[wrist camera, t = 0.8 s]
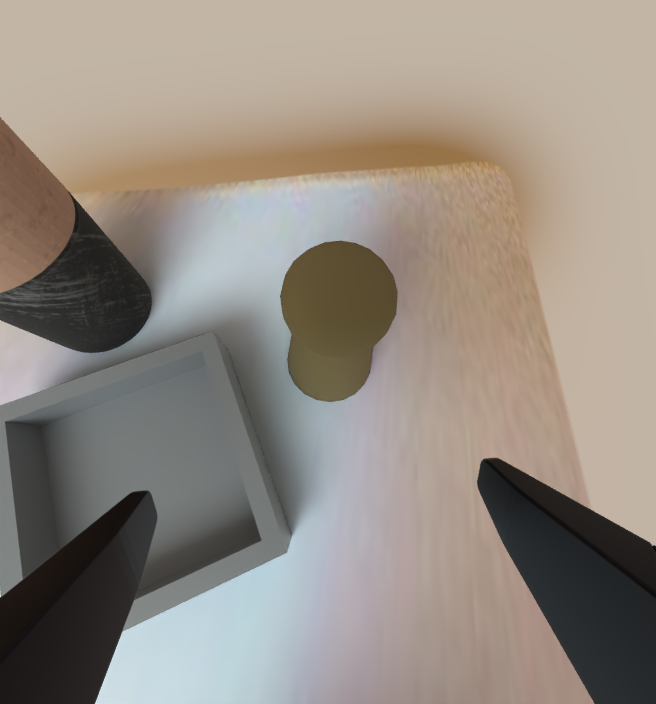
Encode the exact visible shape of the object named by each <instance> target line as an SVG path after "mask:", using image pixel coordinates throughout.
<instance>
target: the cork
mask: <svg viewBox="0 0 656 704" xmlns="http://www.w3.org/2000/svg"><path fill="white" fill-rule="evenodd" d="M280 298H281V305H282V313H283V317H284V320H285V322H286V324H287V325H288V327H289V329H290V331H291V333H292V337H291V343H290V348H289V354H288V368H289V373H290V375H291V377H292V379H293V381H294V383H295V385H296V386H297V387H298V388H299V389H300V390H301V391H302V392H303V393H304V394H306V395H308V396H310V397H312V398H314V399H316V400H321V401H327V402H332V401H339V400H344V399H346V398H348V397H350V396H352V395H354V394H355V393H356V392H357V391H358V390H359V389H360V388H361V387H362V386H363V385H364V384H365V382H366V380H367V377H368V375H369V373H370V367H371V359H372V352H373V346H374V345H375V344H376V343H377V342H378V341H379V340H380V339H381V338H382V337H383V336H384V335H385V334H386V333H387V331H388V330H389V328H390V326H391V323H392V321H393V319H394V317H395V315H396V308H397V288H396V284H395V280H394V277H393V275H392V273H391V272H390V270H389V269H388V267H387V266H386V264H385V263H384V261H383V260H382V259H381V258H380V257H378V256H377V255H376V254H375V253H374V252H372V251H371V250H370V249H368V248H365V247H363V246H361V245H359V244H356V243H351V242H345V241H334V242H325V243H322V244H320V245H317V246H315V247H312V248H310V249H309V250H307V251H306V252H304V253H303V254H302V255H301V256H300V257H298V258H297V259H296V260H295V261H294V262H293V264H292V265H291V267H290V268H289V270H288V271H287V273H286V275H285V278H284V282H283V286H282V291H281V295H280Z"/></svg>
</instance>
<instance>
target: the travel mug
mask: <svg viewBox="0 0 656 704" xmlns="http://www.w3.org/2000/svg"><path fill="white" fill-rule="evenodd" d="M150 309H151V294H150V291H149V288H148V286H147V284H146V282H145V281H144V280H143V278H142V277H141V276H140V274H139V273H138V272H137V271H136V270H135V268H134V267H133V266H132V265H131V264H130V262H129V261H128V260H127V259H126V258H125V257H124V255H123V254H122V253H121V252H120V251H119V250H118V248H117V247H116V246H115V245H114V244H113V243H112V241H111V240H110V239H109V238H108V237H107V236H106V234H105V233H104V232H103V231H102V230H101V229H100V227H99V226H98V225H97V224H96V223H95V222H94V220H93V219H92V218H91V217H90V216H89V215H88V213H87V212H86V211H85V210H84V209H83V208H82V206H81V205H80V204H79V203H78V202H77V201H76V199H75V198H74V197H73V196H72V195H71V194H70V192H69V191H68V190H66V188H65V187H64V186H63V185H62V183H61V182H60V181H59V180H58V179H57V178H56V177H55V176H54V175H53V174H52V173H51V172H50V171H49V169H48V168H47V167H46V166H45V165H44V164H43V163H42V162H41V161H40V160H39V159H38V158H37V157H36V155H34V153H33V152H32V151H31V150H30V149H29V148H28V147H27V146H26V145H25V144H24V143H23V141H22V140H21V139H20V138H19V137H18V136H17V135H16V134H15V133H14V132H13V131H12V130H11V128H9V126H8V125H7V124H6V123H5V122H4V121H3V120H2V119H1V118H0V320H1V321H3V322H6V323H8V324H11V325H13V326H16V327H18V328H20V329H23V330H25V331H28V332H30V333H33V334H35V335H38V336H40V337H42V338H45V339H47V340H50V341H52V342H55V343H57V344H60V345H62V346H65V347H68V348H70V349H73V350H76V351H80V352H89V353H96V352H104V351H108V350H111V349H114V348H116V347H119V346H121V345H123V344H124V343H126V342H127V341H129V340H130V339H131V338H133V337H134V336H135V335H136V334H137V333H138V332H139V331H140V330H141V328H142V327H143V326H144V324H145V322H146V321H147V318H148V316H149V313H150Z"/></svg>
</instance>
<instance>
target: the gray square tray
mask: <svg viewBox="0 0 656 704" xmlns="http://www.w3.org/2000/svg"><path fill="white" fill-rule="evenodd" d="M143 490H148V491H150V492H151V494H152V498H153V501H154V504H155V507H156V511H157V524H156V528H155V531H154V535H153V539H152V542H151V546H150V550H149V553H148V557H147V561H146V564H145V568H144V572H143V575H142V579H141V582H140V585H139V588H138V591H137V594H136V597H135V599H134V602H133V605H132V607H131V610H130V613H129V615H128V618H127V620H126V623H125V626H124V628H123V631H125V630H127V629H129V628H131V627H133V626H135V625H137V624H139V623H141V622H143V621H145V620H147V619H150V618H152V617H154V616H156V615H158V614H160V613H162V612H164V611H166V610H168V609H170V608H172V607H174V606H177V605H179V604H181V603H183V602H185V601H187V600H189V599H191V598H193V597H195V596H197V595H199V594H202V593H204V592H206V591H208V590H210V589H212V588H214V587H216V586H218V585H220V584H222V583H224V582H227V581H229V580H231V579H233V578H235V577H237V576H239V575H241V574H243V573H245V572H247V571H249V570H252V569H254V568H256V567H258V566H260V565H262V564H264V563H266V562H268V561H270V560H272V559H274V558H276V557H279V556H281V555H283V554H285V553H287V551H288V547H289V544H290V541H291V534H290V531H289V528H288V525H287V522H286V519H285V516H284V513H283V511H282V508H281V505H280V502H279V499H278V496H277V493H276V490H275V487H274V484H273V481H272V478H271V475H270V472H269V470H268V467H267V464H266V461H265V458H264V455H263V452H262V449H261V446H260V443H259V440H258V437H257V434H256V431H255V428H254V426H253V423H252V420H251V417H250V414H249V411H248V408H247V405H246V402H245V399H244V396H243V393H242V390H241V387H240V385H239V382H238V379H237V376H236V373H235V370H234V367H233V364H232V361H231V358H230V355H229V352H228V349H227V348H226V347H225V345H224V344H223V343H222V342H221V340H220V339H219V338H218V336H217V335H216V334H215V333H214V331H211V332H208V333H205V334H203V335H200V336H197V337H194V338H191V339H188V340H185V341H183V342H180V343H177V344H174V345H171V346H168V347H166V348H163V349H160V350H157V351H154V352H151V353H148V354H146V355H143V356H140V357H137V358H134V359H131V360H129V361H126V362H123V363H120V364H117V365H114V366H112V367H109V368H106V369H103V370H100V371H97V372H94V373H92V374H89V375H86V376H83V377H80V378H77V379H75V380H72V381H69V382H66V383H63V384H60V385H57V386H55V387H52V388H49V389H46V390H43V391H40V392H38V393H35V394H32V395H29V396H26V397H23V398H21V399H18V400H15V401H12V402H9V403H6V404H3V405H1V406H0V591H1V596H3V595H4V594H5V593H6V592H8V591H9V590H10V589H11V588H13V587H14V586H15V585H16V584H18V583H19V582H20V581H21V580H23V579H24V578H25V577H26V576H28V575H29V574H30V573H31V572H33V571H34V570H35V569H36V568H38V567H39V566H40V565H41V564H42V563H44V562H45V561H46V560H47V559H49V558H50V557H51V556H52V555H54V554H55V553H56V552H57V551H59V550H60V549H61V548H62V547H64V546H65V545H66V544H67V543H69V542H70V541H71V540H72V539H74V538H75V537H76V536H77V535H79V534H80V533H81V532H82V531H84V530H85V529H86V528H87V527H88V526H90V525H91V524H92V523H93V522H95V521H96V520H97V519H98V518H100V517H101V516H102V515H103V514H105V513H106V512H107V511H108V510H110V509H111V508H112V507H113V506H115V505H116V504H117V503H118V502H120V501H121V500H122V499H123V498H125V497H126V496H127V495H128V494H130V493H131V492H134V491H143Z"/></svg>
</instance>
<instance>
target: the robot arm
mask: <svg viewBox="0 0 656 704" xmlns="http://www.w3.org/2000/svg"><path fill="white" fill-rule="evenodd" d="M477 485H478V489H479V492H480V494H481V496H482V498H483V501H484V503H485V505H486V507H487V509H488V512H489V514H490V516H491V518H492V520H493V523H494V525H495V527H496V529H497V531H498V534H499V536H500V538H501V540H502V542H503V544H504V546H505V548H506V549H507V551H508V553H509V555H510V557H511V558H512V560H513V562H514V564H515V565H516V567H517V569H518V571H519V572H520V574H521V576H522V578H523V579H524V581H525V583H526V585H527V586H528V588H529V590H530V592H531V593H532V595H533V597H534V599H535V600H536V602H537V604H538V606H539V607H540V609H541V611H542V613H543V614H544V616H545V618H546V619H547V621H548V623H549V625H550V626H551V628H552V630H553V632H554V633H555V635H556V637H557V639H558V640H559V642H560V644H561V646H562V647H563V649H564V651H565V653H566V654H567V656H568V658H569V660H570V661H571V663H572V665H573V667H574V668H575V670H576V672H577V674H578V675H579V677H580V679H581V681H582V682H583V684H584V686H585V688H586V689H587V691H588V693H589V695H590V696H591V698H592V700H593V702H594V703H595V704H656V546H655V545H654V546H652V545H651V543H650V542H648V541H646V540H644V539H643V538H641V537H639V536H637V535H635V534H633V533H632V532H630V531H628V530H626V529H625V528H623V527H621V526H619V525H617V524H615V523H614V522H612V521H610V520H608V519H607V518H605V517H603V516H601V515H599V514H598V513H595V512H594V511H592V510H590V509H589V508H587V507H585V506H583V505H581V504H580V503H578V502H576V501H574V500H572V499H571V498H569V497H567V496H565V495H564V494H562V493H560V492H558V491H556V490H555V489H553V488H551V487H549V486H547V485H546V484H544V483H542V482H540V481H538V480H537V479H535V478H533V477H531V476H529V475H528V474H526V473H524V472H522V471H520V470H519V469H517V468H515V467H513V466H511V465H510V464H508V463H506V462H504V461H502V460H501V459H499V458H486V459H483V460H482V461H481V464H480V469H479V475H478V480H477ZM156 524H157V511H156V507H155V504H154V501H153V498H152V494H151V492H150V491H148V490H143V491H134V492H131V493H130V494H128V495H127V496H126V497H125V498H123V499H122V500H121V501H120V502H118V503H117V504H116V505H115V506H113V507H112V508H111V509H110V510H108V511H107V512H106V513H105V514H103V515H102V516H101V517H100V518H98V519H97V520H96V521H95V522H93V523H92V524H91V525H90V526H88V527H87V528H86V529H85V530H84V531H82V532H81V533H80V534H79V535H77V536H76V537H75V538H74V539H72V540H71V541H70V542H69V543H67V544H66V545H65V546H64V547H62V548H61V549H60V550H59V551H57V552H56V553H55V554H54V555H52V556H51V557H50V558H49V559H47V560H46V561H45V562H44V563H42V564H41V565H40V566H39V567H38V568H36V569H35V570H34V571H33V572H31V573H30V574H29V575H28V576H26V577H25V578H24V579H23V580H21V581H20V582H19V583H18V584H16V585H15V586H14V587H13V588H11V589H10V590H9V591H8V592H6V593H5V594H4V595H3V596H1V597H0V704H95V702H96V699H97V697H98V694H99V691H100V689H101V686H102V684H103V681H104V678H105V676H106V673H107V670H108V668H109V665H110V662H111V660H112V657H113V655H114V652H115V649H116V647H117V644H118V641H119V639H120V636H121V634H122V631H123V628H124V626H125V623H126V620H127V618H128V615H129V613H130V610H131V607H132V605H133V602H134V599H135V597H136V594H137V591H138V588H139V585H140V582H141V579H142V575H143V572H144V568H145V564H146V561H147V557H148V553H149V550H150V546H151V542H152V539H153V535H154V531H155V528H156Z"/></svg>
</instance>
